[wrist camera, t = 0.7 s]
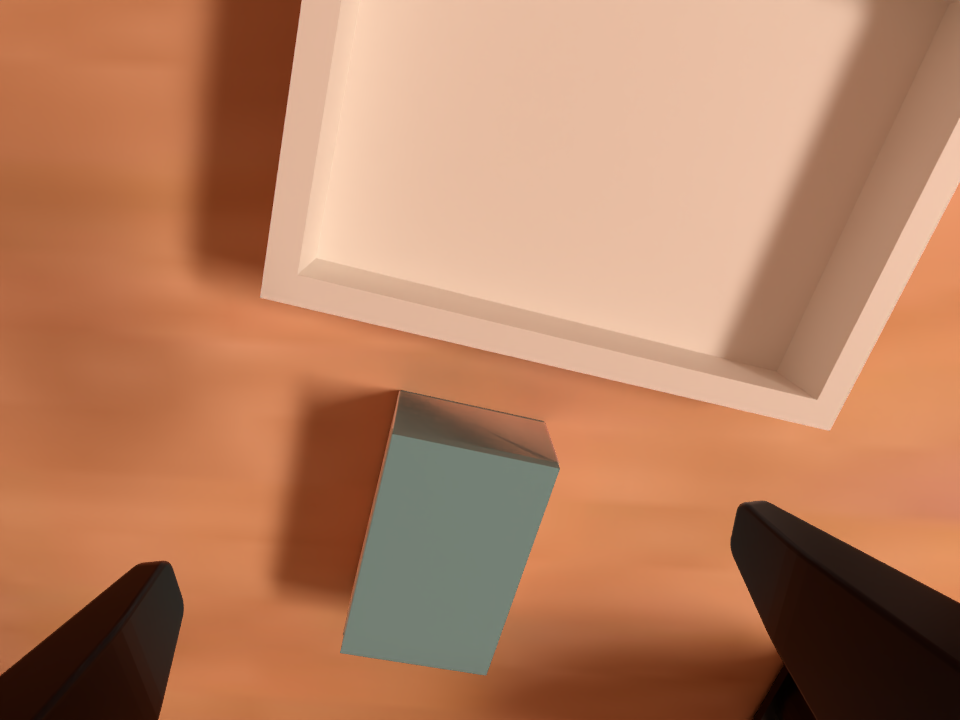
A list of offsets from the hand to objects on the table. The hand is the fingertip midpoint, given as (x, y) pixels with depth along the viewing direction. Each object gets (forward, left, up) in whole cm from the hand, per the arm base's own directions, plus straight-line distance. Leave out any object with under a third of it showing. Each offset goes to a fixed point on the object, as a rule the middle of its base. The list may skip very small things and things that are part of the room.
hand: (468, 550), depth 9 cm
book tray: (+7, -4, -14) cm, 16 cm away
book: (-9, -2, -14) cm, 17 cm away
